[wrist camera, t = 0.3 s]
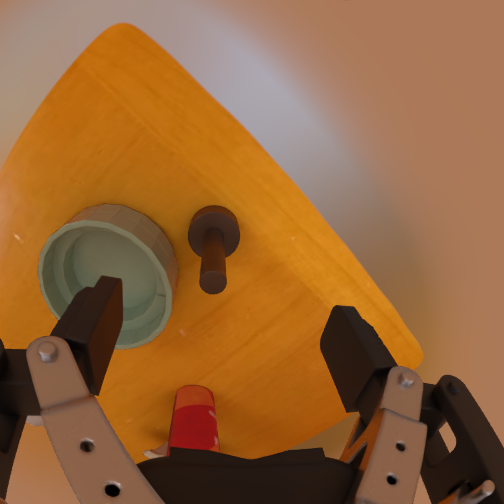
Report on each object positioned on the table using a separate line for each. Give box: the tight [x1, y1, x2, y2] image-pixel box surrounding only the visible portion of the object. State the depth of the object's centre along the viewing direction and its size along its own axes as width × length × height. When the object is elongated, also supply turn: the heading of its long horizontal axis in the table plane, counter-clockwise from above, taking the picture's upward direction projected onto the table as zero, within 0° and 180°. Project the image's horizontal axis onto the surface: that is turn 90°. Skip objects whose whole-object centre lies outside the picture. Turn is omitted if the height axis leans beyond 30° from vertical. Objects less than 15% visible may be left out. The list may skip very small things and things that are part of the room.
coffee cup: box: [166, 385, 220, 456], centre depth 36 cm, size 8×8×15 cm
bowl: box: [38, 204, 178, 350], centre depth 30 cm, size 15×15×6 cm
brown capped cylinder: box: [188, 205, 240, 294], centre depth 27 cm, size 5×5×11 cm
